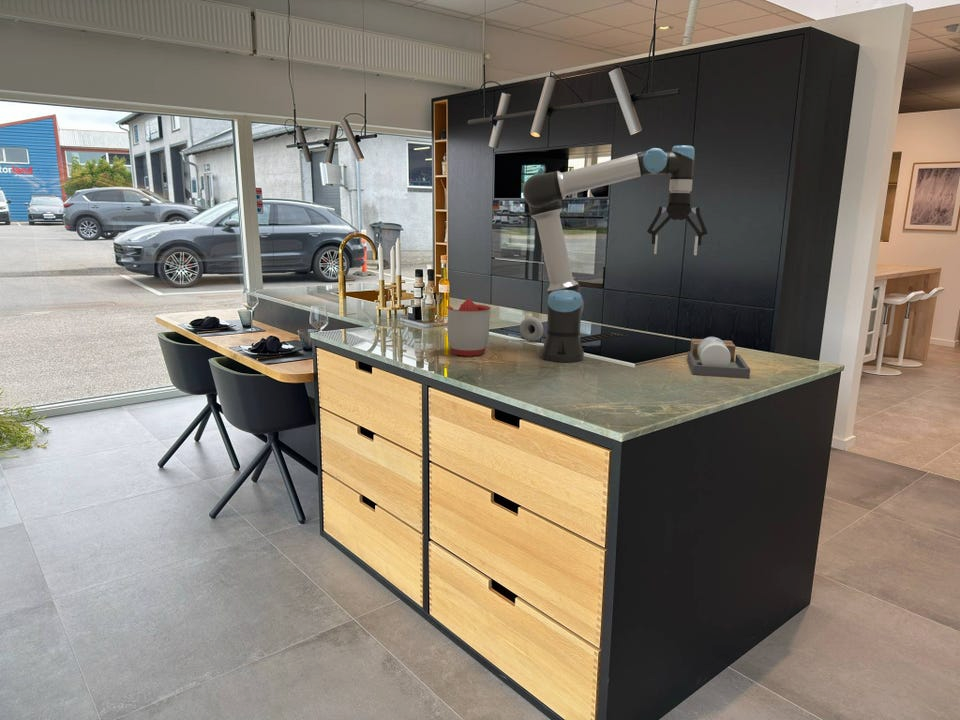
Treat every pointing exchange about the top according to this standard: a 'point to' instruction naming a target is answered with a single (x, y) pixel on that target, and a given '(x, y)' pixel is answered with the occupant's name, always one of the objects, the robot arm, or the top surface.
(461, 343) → the citrus juicer
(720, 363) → the supplement tub
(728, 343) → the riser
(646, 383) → the top surface
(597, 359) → the top surface
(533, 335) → the donut
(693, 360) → the grey shallow rectangular tray
